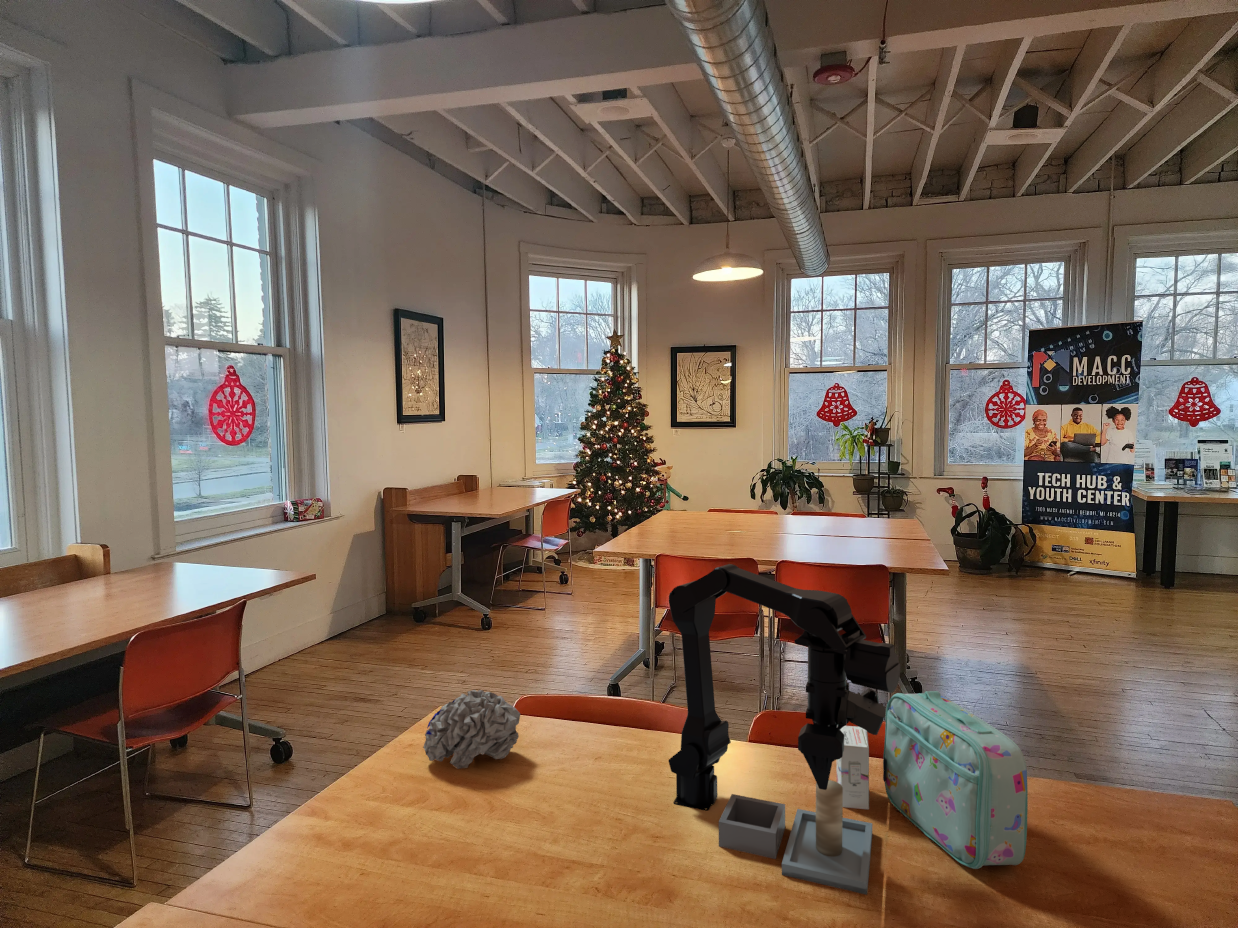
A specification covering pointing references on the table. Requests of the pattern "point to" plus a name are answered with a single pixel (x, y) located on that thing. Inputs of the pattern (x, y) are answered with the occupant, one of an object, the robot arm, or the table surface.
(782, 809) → the grey square bin
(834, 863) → the tray
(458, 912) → the table surface
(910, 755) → the lunch box
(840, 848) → the dowel
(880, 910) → the table surface
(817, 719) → the robot arm
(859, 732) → the ink cartridge box
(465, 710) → the educational model
